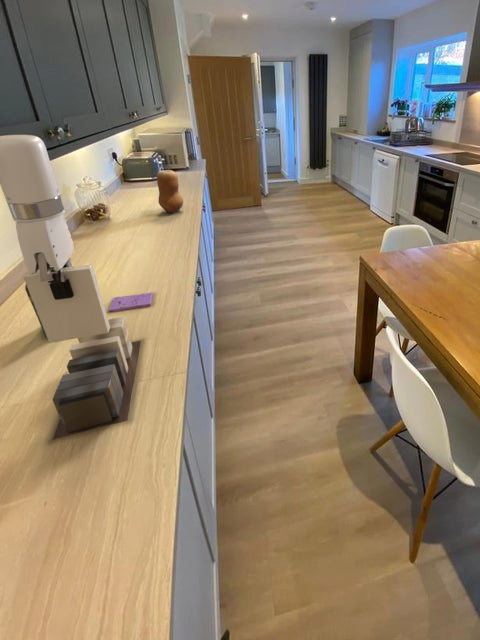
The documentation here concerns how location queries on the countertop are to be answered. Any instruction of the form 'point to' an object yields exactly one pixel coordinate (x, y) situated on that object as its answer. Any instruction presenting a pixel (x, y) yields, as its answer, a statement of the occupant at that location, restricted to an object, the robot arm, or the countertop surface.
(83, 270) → the cream book
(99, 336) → the book rack
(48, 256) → the robot arm
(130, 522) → the countertop surface
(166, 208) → the butternut squash
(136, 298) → the sponge
